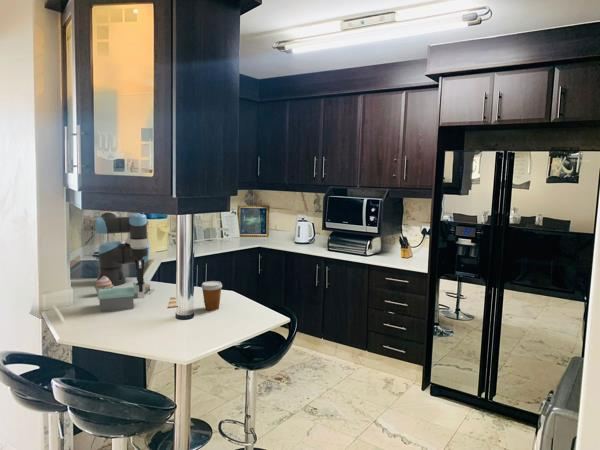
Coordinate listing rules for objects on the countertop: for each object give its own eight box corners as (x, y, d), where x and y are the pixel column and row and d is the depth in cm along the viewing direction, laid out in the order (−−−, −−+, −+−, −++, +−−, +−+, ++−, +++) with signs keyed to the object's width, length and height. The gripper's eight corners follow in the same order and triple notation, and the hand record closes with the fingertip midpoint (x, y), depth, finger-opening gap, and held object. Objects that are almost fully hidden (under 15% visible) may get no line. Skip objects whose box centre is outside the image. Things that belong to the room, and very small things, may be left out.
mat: (141, 301, 221) (141, 300, 221) (179, 297, 228) (179, 296, 228) (143, 310, 207) (143, 309, 207) (183, 306, 213) (183, 305, 213)
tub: (101, 306, 212) (100, 292, 211) (132, 303, 217) (132, 289, 216) (100, 314, 201) (99, 299, 200) (133, 310, 206) (133, 295, 205)
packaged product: (141, 291, 222) (121, 291, 222) (142, 301, 223) (122, 301, 223) (155, 282, 240) (136, 282, 240) (155, 291, 241) (136, 291, 241)
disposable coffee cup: (216, 312, 204) (215, 286, 203) (197, 310, 207) (197, 284, 206) (226, 306, 213) (225, 281, 212) (208, 304, 216) (207, 280, 215)
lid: (99, 292, 211) (98, 281, 211) (144, 288, 219) (144, 278, 218) (98, 299, 199) (97, 288, 199) (145, 295, 207) (145, 284, 206)
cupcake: (95, 298, 225) (94, 278, 224) (93, 294, 234) (92, 275, 232) (115, 296, 230) (114, 276, 229) (113, 291, 238) (112, 273, 237)
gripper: (129, 245, 216) (131, 293, 219) (130, 251, 201) (132, 302, 203) (146, 244, 219) (148, 291, 221) (148, 250, 203) (150, 300, 206)
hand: (140, 296), depth 212 cm, fingers closed on lid, 3 cm apart
